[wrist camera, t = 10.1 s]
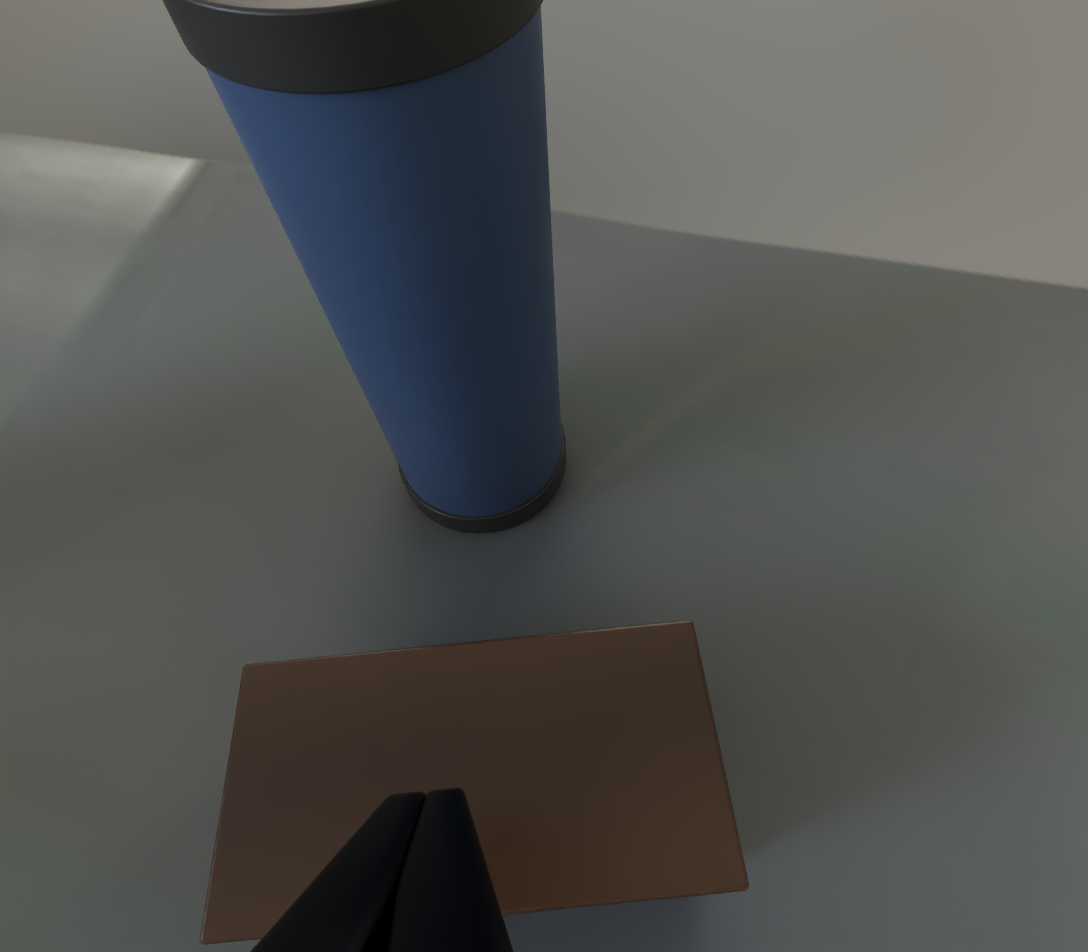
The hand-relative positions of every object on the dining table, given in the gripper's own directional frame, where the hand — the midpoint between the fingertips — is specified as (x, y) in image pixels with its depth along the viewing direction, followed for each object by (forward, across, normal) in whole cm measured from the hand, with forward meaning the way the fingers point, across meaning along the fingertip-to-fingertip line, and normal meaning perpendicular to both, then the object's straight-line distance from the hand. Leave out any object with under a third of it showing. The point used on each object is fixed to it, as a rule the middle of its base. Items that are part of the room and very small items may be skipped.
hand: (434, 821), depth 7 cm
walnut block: (+6, 0, +4) cm, 7 cm away
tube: (+7, 0, -6) cm, 9 cm away
